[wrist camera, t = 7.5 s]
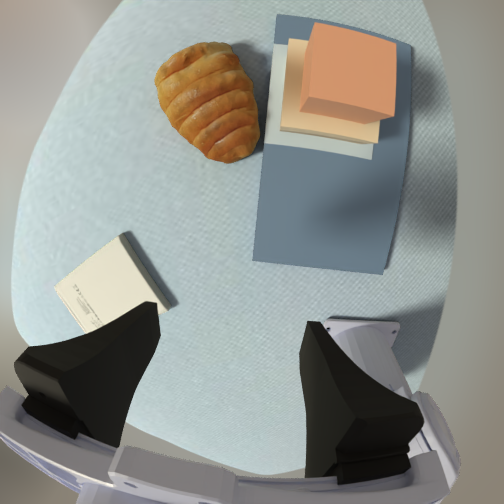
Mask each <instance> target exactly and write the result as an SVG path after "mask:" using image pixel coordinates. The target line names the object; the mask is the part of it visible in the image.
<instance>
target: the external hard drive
mask: <svg viewBox="0 0 504 504" xmlns="http://www.w3.org/2000/svg"><path fill="white" fill-rule="evenodd" d="M55 290H56V292H57V294H58V295H59V297H60V298H61V300H62V301H63V303H64V304H65V305H66V307H67V308H68V310H69V311H70V313H71V314H72V316H73V317H74V318H75V320H76V321H77V323H78V324H79V325H80V327H81V328H82V329H83V331H84V332H85V333H86V334H87V333H89V332H91V331H94V330H96V329H98V328H100V327H102V326H104V325H106V324H107V323H109V322H111V321H113V320H115V319H117V318H118V317H120V316H121V315H123V314H125V313H126V312H128V311H130V310H131V309H133V308H134V307H136V306H138V305H139V304H141V303H143V302H145V301H150V302H156V303H157V306H158V315H160V314H162V313H165V312H167V311H169V309H170V308H171V304H170V303H169V302H168V300H167V299H166V297H165V296H164V295H163V293H162V292H161V290H160V289H159V288H158V286H157V285H156V283H155V282H154V280H153V279H152V277H151V276H150V274H149V273H148V271H147V270H146V268H145V267H144V265H143V264H142V262H141V261H140V259H139V258H138V256H137V255H136V253H135V251H134V250H133V248H132V247H131V245H130V243H129V242H128V240H127V238H126V237H125V235H124V234H123V233H122V234H120V235H118V236H117V237H116V238H114V239H113V240H112V241H110V242H109V243H108V244H106V245H105V246H104V247H102V248H101V249H100V250H98V251H97V252H96V253H94V254H93V255H92V256H91V257H89V258H88V259H87V260H86V261H84V262H83V263H82V264H81V265H79V266H78V267H77V268H76V269H74V270H73V271H72V272H71V273H70V274H68V275H67V276H66V277H65V278H64V279H62V280H61V281H60V282H59V283H58V284H57V285H55Z"/></svg>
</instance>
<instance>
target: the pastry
mask: <svg viewBox="0 0 504 504" xmlns="http://www.w3.org/2000/svg"><path fill="white" fill-rule="evenodd" d="M155 85H156V87H157V91H158V99H159V102H160V106H161V108H162V110H163V111H164V112H165V114H166V115H167V117H168V119H169V121H170V123H171V125H172V127H174V128H175V129H176V130H177V131H178V132H179V134H180V135H182V136H183V137H184V138H186V139H187V141H188V142H189V143H190V144H192V145H194V146H195V147H196V148H198V149H199V150H200V151H201V152H202V153H203V154H204V155H205V156H206V157H207V158H208V159H212V160H215V161H220V162H224V163H226V164H229V163H234V162H236V161H239V160H241V159H243V158H244V157H247V156H249V155H250V154H251V153H252V152H253V150H254V148H255V146H256V144H257V141H258V140H259V137H260V130H259V125H258V108H257V104H256V101H255V99H254V94H253V88H254V87H253V82H252V80H251V79H250V78H249V77H248V76H247V75H246V73H245V72H244V70H243V68H242V66H241V65H240V63H239V58H238V57H237V55H235V54H234V53H233V52H232V48H231V46H230V45H229V44H227V43H222V42H221V43H218V42H210V43H206V42H203V43H197V44H195V45H193V46H190V47H188V48H185V49H183V50H181V51H179V52H177V53H175V54H174V55H172V56H171V57H170V58H169V60H168V61H167V62H165V63H163V65H162V66H161V67H160V68H159V70H158V71H157V73H156V77H155Z"/></svg>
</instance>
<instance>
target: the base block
mask: <svg viewBox="0 0 504 504" xmlns="http://www.w3.org/2000/svg"><path fill="white" fill-rule="evenodd" d="M308 42H309V41H306V40H299V39H291V38H289V42H288V49H287V58H286V69H285V80H284V91H283V101H282V112H281V122H280V131H283V132H291V133H299V134H306V135H313V136H319V137H325V138H331V139H336V140H342V141H347V142H352V143H357V144H374V143H378V136H379V126H380V120H378V121H375V122H371V123H367V124H361V123H356V122H352V121H347V120H343V119H338V118H333V117H328V116H322V115H316V114H310V113H304V112H299V110H300V100H301V90H302V80H303V69H304V57H305V51H306V48H307V45H308Z"/></svg>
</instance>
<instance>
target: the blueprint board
mask: <svg viewBox="0 0 504 504" xmlns="http://www.w3.org/2000/svg"><path fill="white" fill-rule="evenodd" d="M315 22H316V23H322V24H327V25H332V26H337V27H341V28H345V29H349V30H353V31H357V32H361V33H365V34H368V35H372V36H375V37H378V38H381V39H384V40H387V41H390V42H393V43H396V97H395V113H394V117H390V118H386V119H382V120H380V126H379V136H378V143H374V144H357V143H352V142H347V141H342V140H336V139H331V138H325V137H319V136H313V135H306V134H299V133H291V132H283V131H280V122H281V112H282V101H283V91H284V80H285V69H286V58H287V49H288V42H289V38H291V39H299V40H306V41H309V38H310V35H311V32H312V29H313V26H314V23H315ZM410 112H411V45H409V44H407V43H404V42H401V41H399V40H396V39H393V38H390V37H387V36H384V35H381V34H377V33H374V32H371V31H367V30H364V29H360V28H356V27H352V26H348V25H343V24H339V23H334V22H329V21H324V20H318V19H312V18H306V17H298V16H290V15H280V14H277V17H276V27H275V38H274V47H273V58H272V68H271V78H270V88H269V99H268V109H267V119H266V129H265V139H264V150H263V160H262V170H261V180H260V190H259V200H258V210H257V220H256V230H255V240H254V250H253V260H252V261H259V262H268V263H277V264H286V265H295V266H304V267H313V268H322V269H332V270H341V271H350V272H360V273H369V274H379V275H383V272H384V268H385V265H386V261H387V257H388V253H389V249H390V245H391V241H392V237H393V232H394V228H395V223H396V218H397V213H398V208H399V203H400V197H401V192H402V185H403V179H404V172H405V165H406V157H407V148H408V139H409V127H410Z"/></svg>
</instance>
